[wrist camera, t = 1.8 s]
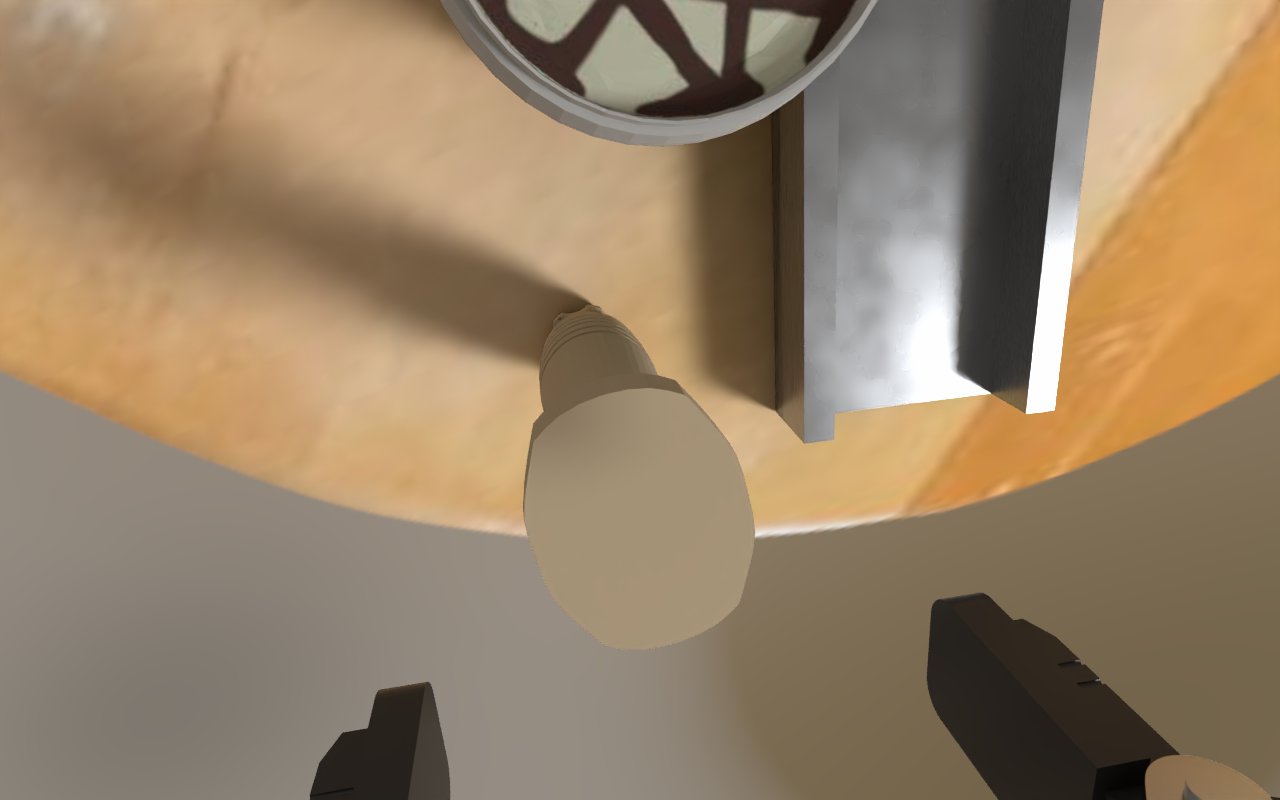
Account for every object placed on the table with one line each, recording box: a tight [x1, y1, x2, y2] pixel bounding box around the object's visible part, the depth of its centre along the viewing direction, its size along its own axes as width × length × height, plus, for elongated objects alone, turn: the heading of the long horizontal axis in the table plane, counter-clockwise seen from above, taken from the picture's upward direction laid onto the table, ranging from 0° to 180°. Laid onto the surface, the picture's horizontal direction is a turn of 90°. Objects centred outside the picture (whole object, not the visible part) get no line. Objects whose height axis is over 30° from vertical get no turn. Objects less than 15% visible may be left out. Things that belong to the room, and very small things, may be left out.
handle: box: [523, 305, 755, 650], centre depth 24 cm, size 5×6×15 cm
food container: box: [440, 0, 878, 147], centre depth 22 cm, size 12×6×10 cm, turn 64°
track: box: [772, 0, 1104, 444], centre depth 29 cm, size 20×10×4 cm, turn 4°
